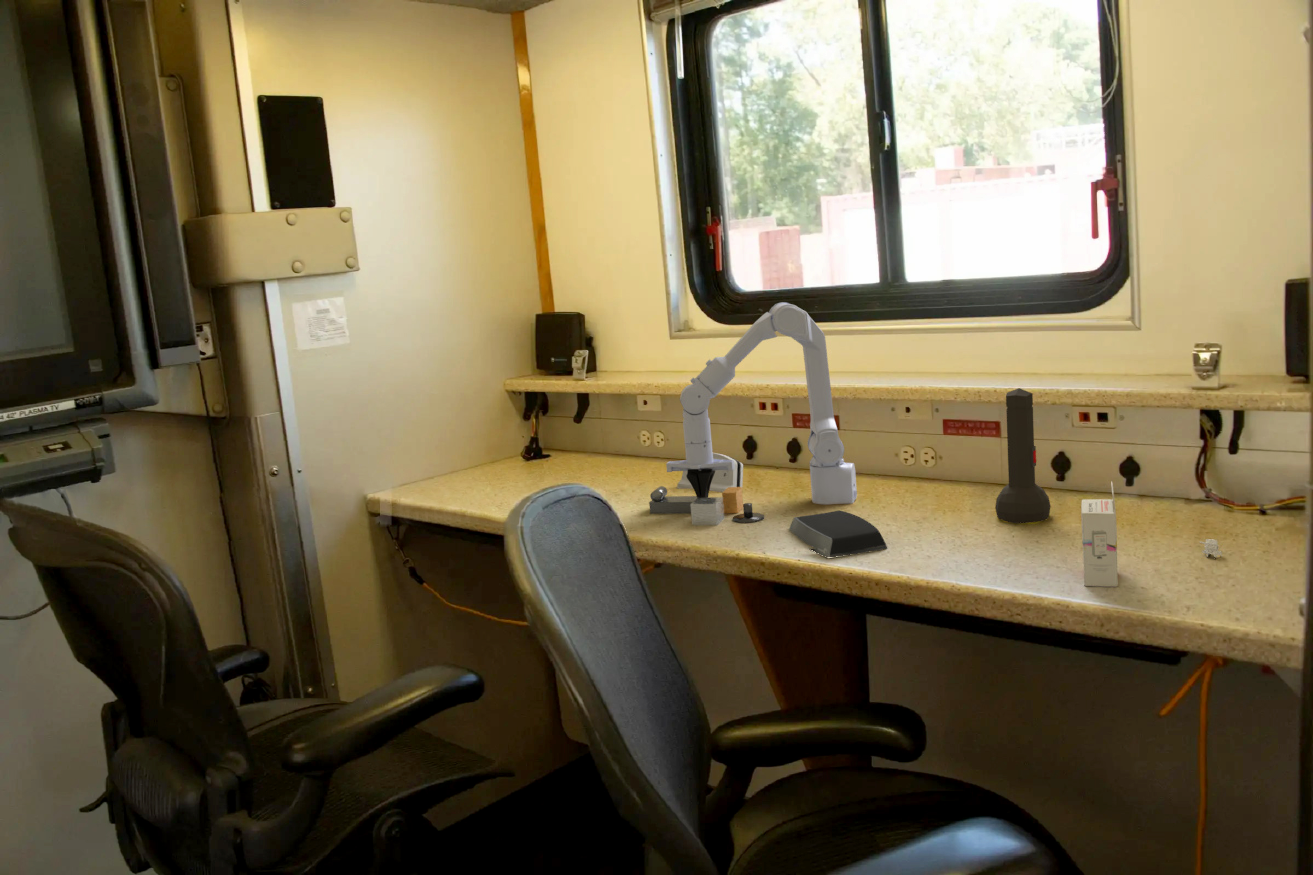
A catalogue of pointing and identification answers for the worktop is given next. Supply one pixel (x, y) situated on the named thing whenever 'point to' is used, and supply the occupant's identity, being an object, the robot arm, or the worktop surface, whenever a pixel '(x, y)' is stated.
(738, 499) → the chain slider
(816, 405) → the robot arm
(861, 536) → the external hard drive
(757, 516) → the post
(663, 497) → the chain housing
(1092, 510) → the ink cartridge box
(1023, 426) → the flashlight
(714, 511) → the grey recessed block
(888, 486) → the worktop surface
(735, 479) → the light grey piece
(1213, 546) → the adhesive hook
